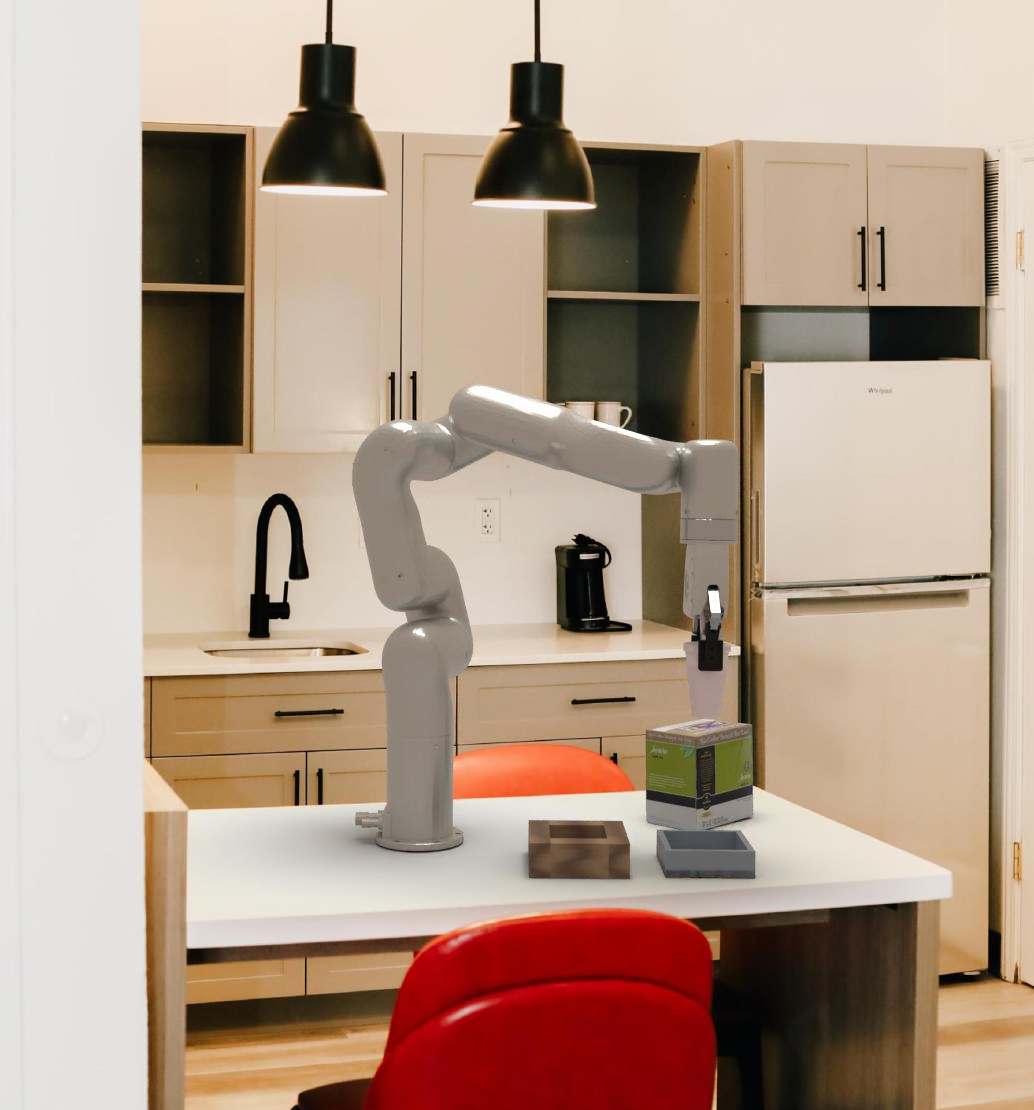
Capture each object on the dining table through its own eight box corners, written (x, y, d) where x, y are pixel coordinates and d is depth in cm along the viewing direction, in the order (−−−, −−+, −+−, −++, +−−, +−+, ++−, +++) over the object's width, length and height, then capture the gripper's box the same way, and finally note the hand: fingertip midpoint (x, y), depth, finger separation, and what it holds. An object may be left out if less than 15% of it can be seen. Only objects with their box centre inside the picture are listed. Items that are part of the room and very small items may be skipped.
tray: (665, 877, 174) (665, 850, 174) (656, 854, 186) (656, 829, 186) (755, 878, 174) (755, 851, 174) (740, 855, 186) (740, 830, 186)
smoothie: (728, 720, 176) (730, 613, 175) (679, 718, 177) (681, 612, 177) (731, 713, 182) (732, 610, 182) (683, 711, 183) (685, 608, 183)
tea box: (702, 807, 216) (703, 716, 216) (754, 818, 209) (756, 723, 209) (643, 822, 205) (644, 726, 205) (696, 834, 198) (697, 734, 198)
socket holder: (529, 877, 174) (529, 843, 174) (528, 852, 187) (528, 820, 187) (629, 878, 174) (630, 844, 174) (621, 853, 187) (622, 820, 187)
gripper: (672, 531, 187) (670, 660, 188) (688, 533, 170) (686, 675, 171) (726, 532, 187) (724, 660, 188) (748, 534, 170) (745, 676, 171)
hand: (706, 666), depth 179 cm, fingers closed on smoothie, 6 cm apart
